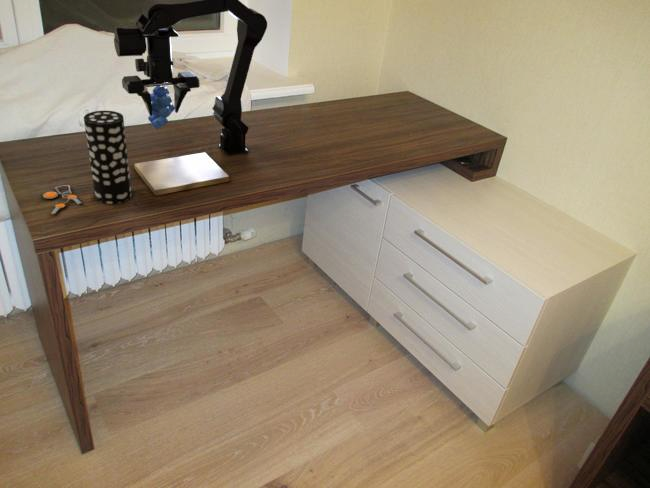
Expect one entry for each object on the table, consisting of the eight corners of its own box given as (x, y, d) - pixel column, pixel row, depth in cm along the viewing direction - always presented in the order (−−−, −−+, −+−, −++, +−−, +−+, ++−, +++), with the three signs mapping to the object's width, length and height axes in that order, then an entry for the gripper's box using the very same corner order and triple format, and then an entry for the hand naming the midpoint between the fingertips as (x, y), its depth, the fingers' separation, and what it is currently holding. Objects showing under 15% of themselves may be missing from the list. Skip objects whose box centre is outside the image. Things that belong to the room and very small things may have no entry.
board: (204, 157, 156) (204, 152, 155) (229, 181, 145) (229, 176, 144) (134, 168, 145) (134, 163, 145) (155, 195, 135) (155, 190, 134)
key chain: (41, 190, 131) (40, 187, 131) (73, 185, 135) (73, 182, 134) (49, 215, 122) (49, 212, 122) (84, 209, 126) (83, 206, 125)
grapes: (179, 137, 146) (186, 94, 140) (155, 136, 142) (161, 91, 136) (164, 121, 153) (170, 79, 148) (140, 119, 149) (145, 76, 144)
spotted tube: (100, 186, 136) (89, 109, 125) (134, 188, 137) (127, 111, 126) (91, 203, 129) (78, 123, 118) (127, 204, 130) (118, 125, 119)
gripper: (183, 44, 147) (186, 100, 156) (112, 47, 138) (119, 107, 146) (199, 55, 140) (201, 113, 148) (125, 60, 130) (132, 122, 139)
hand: (163, 113), depth 146 cm, fingers closed on grapes, 6 cm apart
